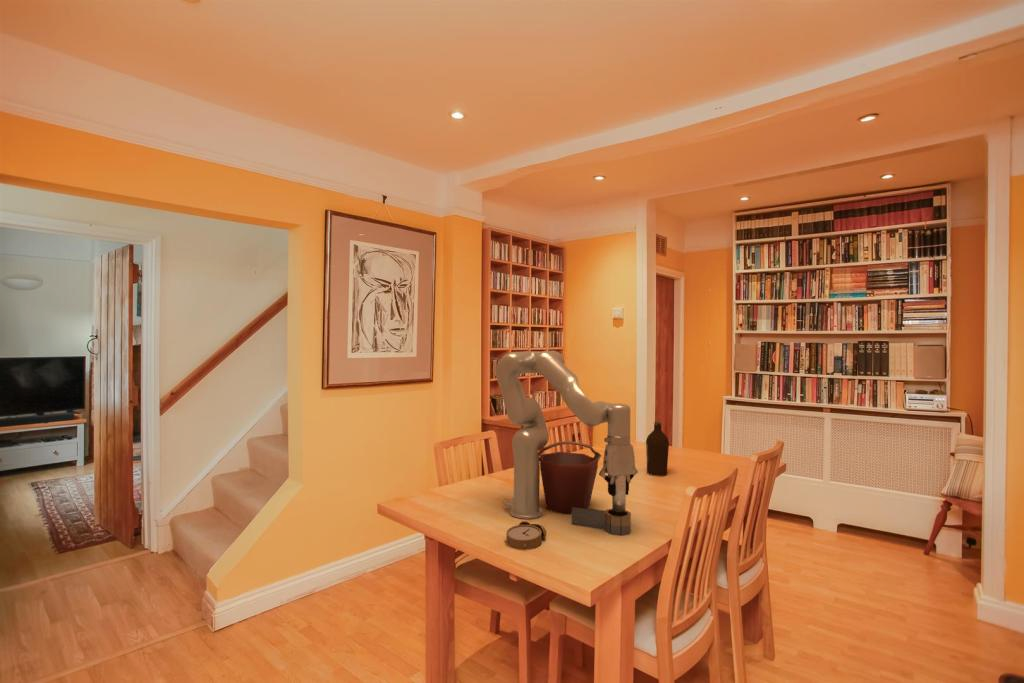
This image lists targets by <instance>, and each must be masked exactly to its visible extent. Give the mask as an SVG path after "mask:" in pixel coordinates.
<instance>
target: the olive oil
mask: <svg viewBox="0 0 1024 683" xmlns="http://www.w3.org/2000/svg"><path fill="white" fill-rule="evenodd" d="M653 424H654V425H653V431H652V432H650V433H649V434H648V436H647V437H646V440H645V446H646V447H645V449H646V452H645V453H646V473H647V474H648V473H649V474H648V475H650V474H652V475H651V476H653V475H665V476H667V475H668V461H669V449H670V448H669V446H670V442H669V438H668V437H667V435H666V433H664V431H663V430H662V422H661V421H654V423H653ZM666 474H667V475H666Z"/></svg>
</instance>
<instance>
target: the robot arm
mask: <svg viewBox="0 0 1024 683" xmlns="http://www.w3.org/2000/svg"><path fill="white" fill-rule="evenodd" d="M495 368H496V369H495V376H496V380H497V384H498V387H499V389H500V393H501V397H502V400H503V403H504V407H505V411H506V415H507V417H508V420H509V422H510V423H511V424H513V425H515V426H522V427H523V428H521V429H519V430H517V431H516V432H515V434H514V435H513V437H512V440H511V441H512V442H511V446H512V447H511V448H512V454H513V498H512V499H509V498H503V502H502V503H503V506H505V507H509V511H508V512H509V515H510V516H512V517H514V518H518V519H525V520H530V519H537V518H541V517H542V516H543V514H544V509H543V508H542V507H540V475H541V470H540V461H539V457H540V456H539V457H538V452H539V451H540V450H541V449H542V448H544V447H547V444H548V442H549V438H550V435H549V430H548V427H547V424H546V423H547V422H546V421H545V417H544V412H543V410H542V408H541V405H540V404H539V402H538V401H537V400H536V399H535V398H532V397H527V396H526V391H525V389H524V386H523V384H522V382H521V380H520V379H519V375H525V374H540V375H541V376H542V377H543V378H544V379H545V380H546V381H547V383H549V384H550V385H551V386H552V387H553V388H554V390H556V391H557V392H558V393H559V394H560V396H561V398H562V400H563V402H564V403H565V405H566V406H567V407H568V409H569V411H570V412H572V414H574V415H575V417H576V418H577V419H578V420H579V421H580V422H582V423H583V424H584V425H586V426H589V427H595V426H599V425H601V424H604V423H607V435H606V437H605V438H604V439H603V440H604V443H606V444H605V448H604V451H603V452H604V453H603V463H602V464H603V465H602V468H601V469H600V471H599V472H598V475H599V476H600V477H602V478H603V479H604V480H605V482H606V483H607V493H608V495H610V496H611V497H612V496H615V484H613V483H614V478H615V476H620V475H626V496H628V495H629V491H630V483H631V481H632V480H633V478H634V476H636V475H637V474H638V473H639V470H638V469H637V468H636V460H635V451H634V446H633V444H631V407H630V405H628V404H625V403H610V402H605V401H595V402H593V401H592V400H591V399H589V398H588V397H587V396H586V394H585V393H584V392H582V390H581V388H580V385H579V380H578V379H579V378H578V377H577V374H575V373H574V372H573V371H572V370H571V369H569V368H568V366H566V364H565V358H564V356H563V355H562V354H561V353H560V352H558V351H557V350H542V351H538V350H537V351H534V350H532V351H531V350H529V351H525V350H524V351H512V352H507V354H505V355H503V356H502V357H501V358H500V359H499V361H498V363H497V364H496V367H495ZM606 474H607V475H606Z"/></svg>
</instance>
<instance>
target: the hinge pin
mask: <svg viewBox="0 0 1024 683" xmlns="http://www.w3.org/2000/svg"><path fill="white" fill-rule="evenodd" d="M613 484H615V496H611V497H612V498H611V500H612V506H611V509H612V510H614V511H617V512H624V511H627V510H626V506H627V504H626V502H627V497H626V496H627V495H626V475H620V476H615V478H614V483H613Z"/></svg>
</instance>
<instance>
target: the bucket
mask: <svg viewBox="0 0 1024 683" xmlns="http://www.w3.org/2000/svg"><path fill="white" fill-rule="evenodd" d="M560 445H573V446H574V445H577V446H581V447H584V448H587V449H589V450H590V451H591V452H592V454H594V456H593V457H592V456H590V455H588V454H586V453H576V452H564V451H558V452H557V451H555V452H549V453H544V452H545V451H548V450H549V449H552V448H554V447H558V446H560ZM538 457H539V463H540V475H541V481H542V487H543V493H544V494H543V496H544V502H545V507H546V510H549V511H551V510H552V512H555V513H558V512H559V514H561V513H562V515H566V514H567V515H568V514H570V513H572V506H574V507H582V508H589V507H590V504H591V500H592V494H593V490H594V486H595V481H596V476H597V472H598V468H599V464H598V463H599V461H600V459H601V457H602V455H601V453H600V452H598V451H596V450H595V449H594V448H593V446H592V445H591V444H586V443H582V442H575V441H566V440H565V441H557V442H554V443H552V444H548V445H546V446H545V447H543V448H542V449H540V450H538ZM570 515H571V514H570Z"/></svg>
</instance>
